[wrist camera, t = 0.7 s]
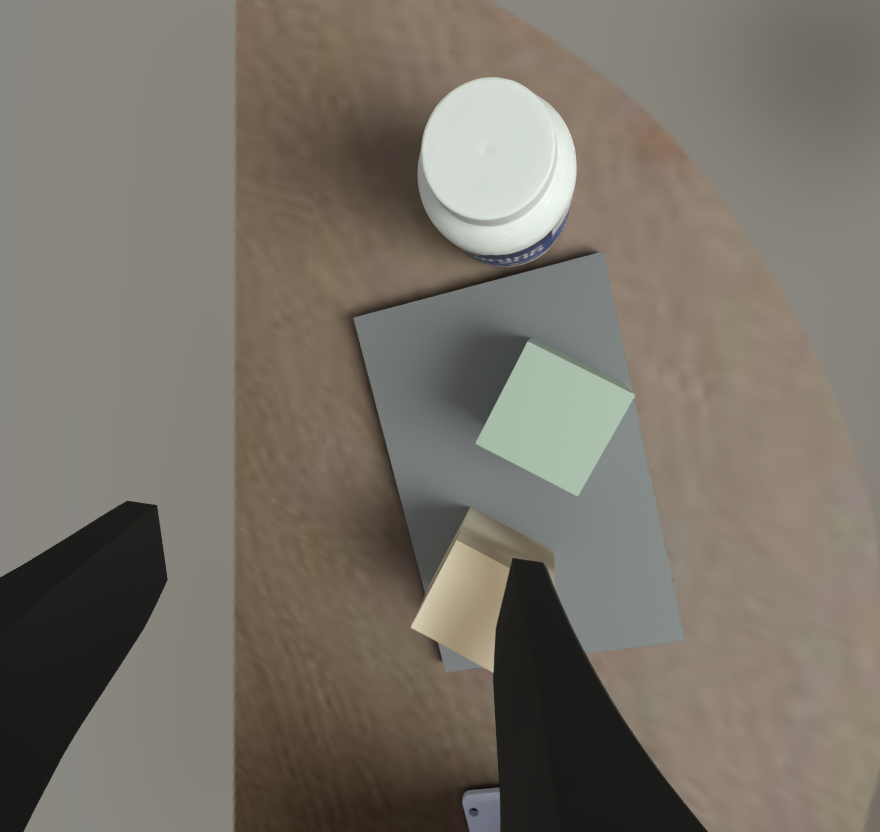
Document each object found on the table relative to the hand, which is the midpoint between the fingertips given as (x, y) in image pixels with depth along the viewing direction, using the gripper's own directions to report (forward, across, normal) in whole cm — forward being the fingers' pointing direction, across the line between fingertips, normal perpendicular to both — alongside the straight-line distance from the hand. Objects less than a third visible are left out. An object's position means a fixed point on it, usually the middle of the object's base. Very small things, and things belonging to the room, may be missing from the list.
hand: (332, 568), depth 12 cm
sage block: (+15, -6, +4) cm, 17 cm away
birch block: (+13, -5, +11) cm, 18 cm away
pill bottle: (+20, -3, -4) cm, 20 cm away
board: (+15, -6, +7) cm, 18 cm away
